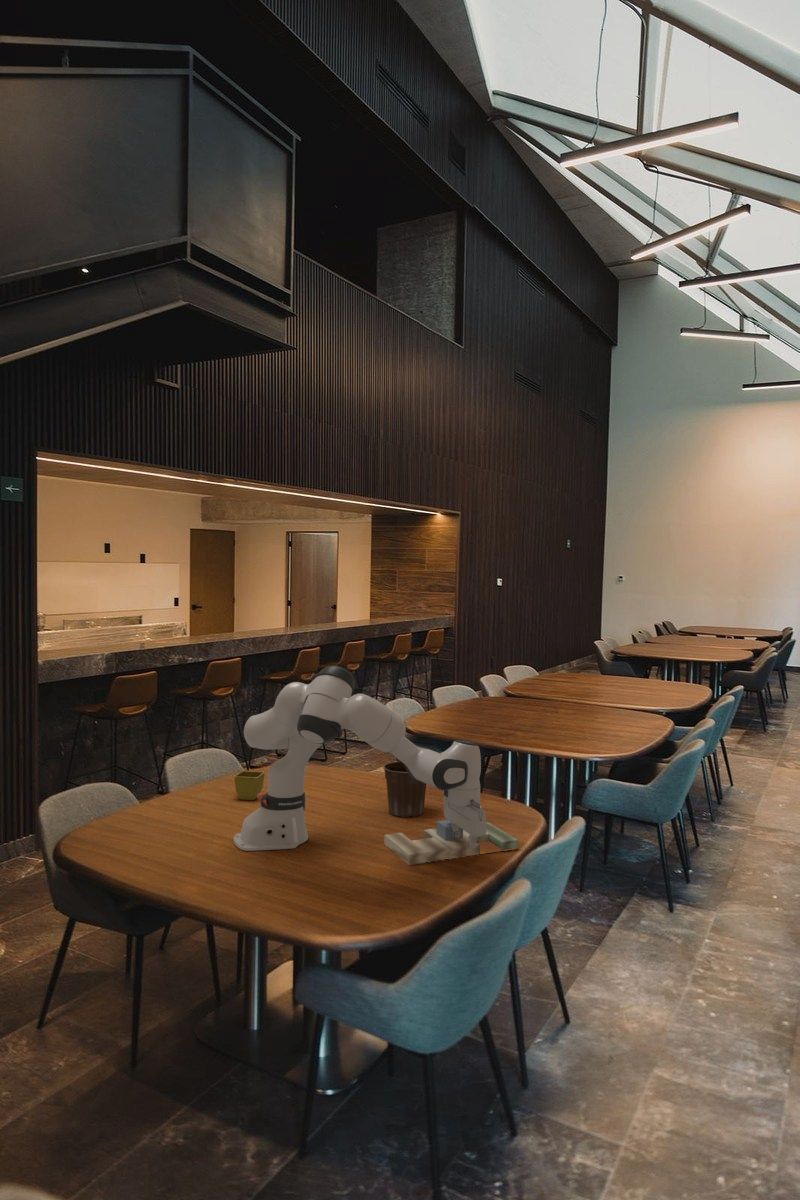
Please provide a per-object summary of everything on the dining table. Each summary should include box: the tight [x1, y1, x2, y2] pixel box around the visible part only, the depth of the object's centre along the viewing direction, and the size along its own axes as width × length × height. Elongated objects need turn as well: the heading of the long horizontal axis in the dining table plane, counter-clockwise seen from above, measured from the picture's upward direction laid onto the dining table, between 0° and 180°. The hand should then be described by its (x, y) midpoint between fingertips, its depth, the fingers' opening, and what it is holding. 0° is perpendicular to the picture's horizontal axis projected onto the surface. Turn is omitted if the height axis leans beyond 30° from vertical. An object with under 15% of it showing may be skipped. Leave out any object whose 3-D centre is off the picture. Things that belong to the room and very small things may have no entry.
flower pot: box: [234, 770, 265, 801], centre depth 276 cm, size 9×9×9 cm
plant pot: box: [382, 760, 427, 818], centre depth 264 cm, size 16×16×16 cm
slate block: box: [436, 819, 463, 841], centre depth 231 cm, size 6×6×4 cm
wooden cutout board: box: [383, 821, 519, 866], centre depth 231 cm, size 36×18×3 cm, turn 113°
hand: (463, 842), depth 223 cm, fingers open, 8 cm apart
